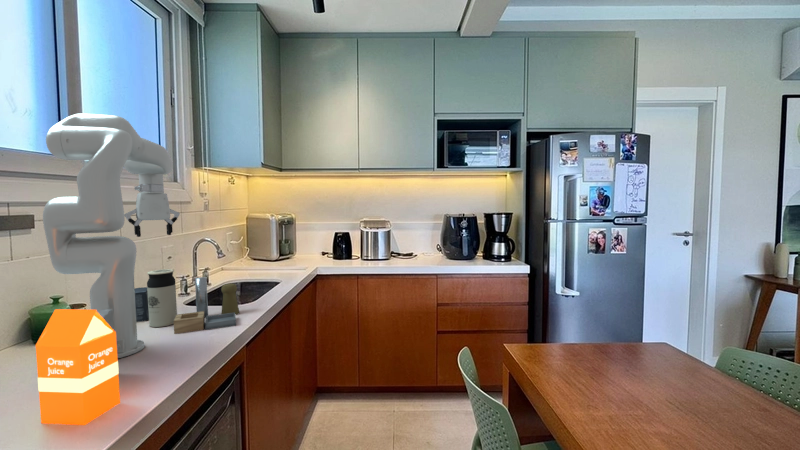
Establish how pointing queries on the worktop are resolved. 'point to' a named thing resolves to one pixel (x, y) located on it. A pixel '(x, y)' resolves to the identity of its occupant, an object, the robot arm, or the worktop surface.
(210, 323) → the tray
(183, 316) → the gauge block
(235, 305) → the olive green tall block
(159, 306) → the travel mug
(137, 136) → the robot arm
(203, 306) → the silver rectangular bar
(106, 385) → the orange juice
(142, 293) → the box
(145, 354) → the worktop surface
